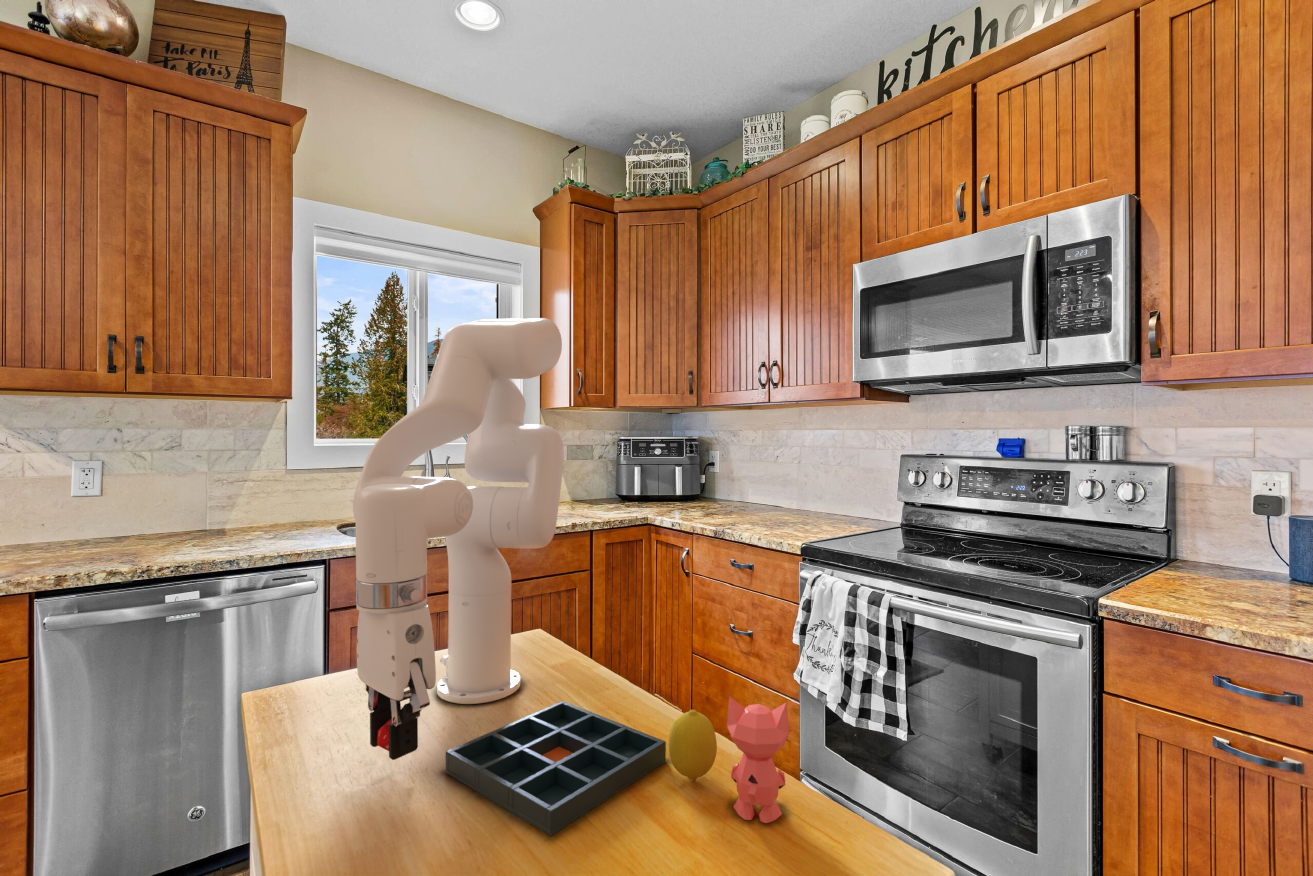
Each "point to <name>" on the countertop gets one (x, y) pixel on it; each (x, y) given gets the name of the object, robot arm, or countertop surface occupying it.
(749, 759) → the cat figurine
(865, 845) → the countertop surface
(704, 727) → the lemon
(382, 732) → the die
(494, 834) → the countertop surface
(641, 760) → the grid
